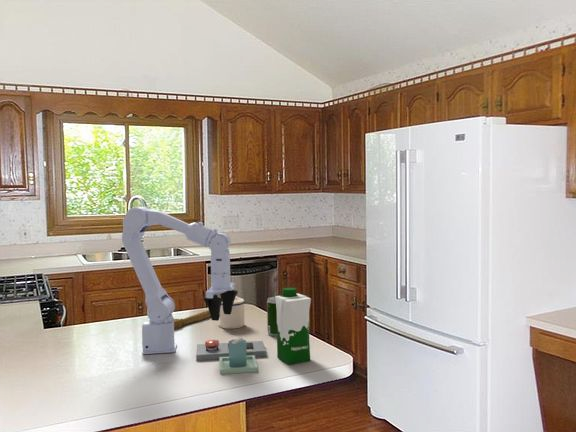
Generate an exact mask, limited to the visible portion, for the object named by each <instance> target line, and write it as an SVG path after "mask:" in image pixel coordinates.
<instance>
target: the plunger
mask: <svg viewBox="0 0 576 432" xmlns="http://www.w3.org/2000/svg"><path fill="white" fill-rule="evenodd" d="M219 343H220V341H219V340H218V339H209V340H205V342H204V344H205V347H207V351H214V350H217V347H218V346H219Z"/></svg>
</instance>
